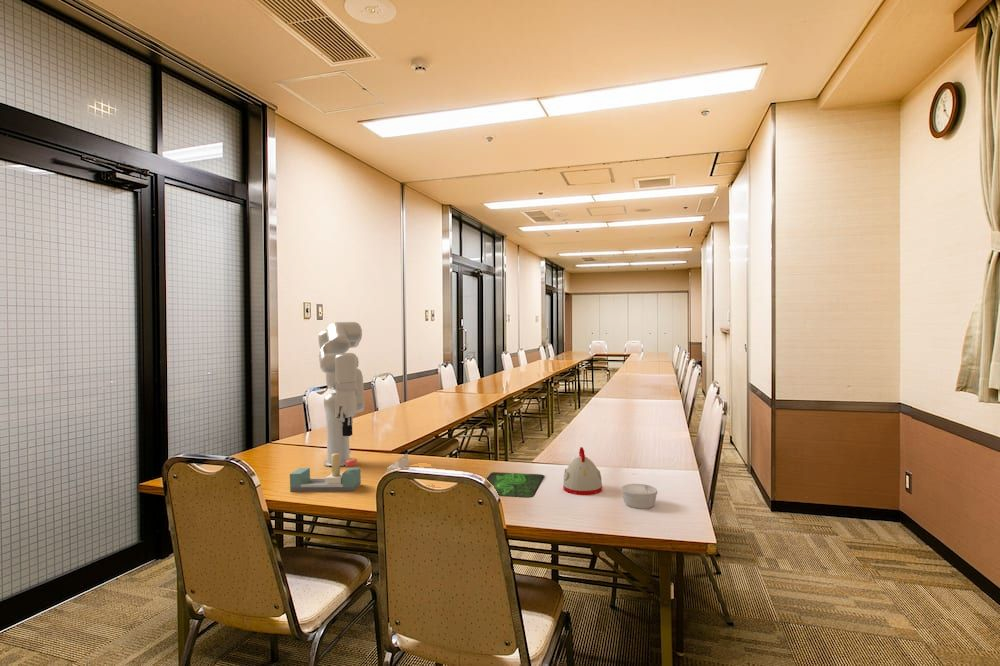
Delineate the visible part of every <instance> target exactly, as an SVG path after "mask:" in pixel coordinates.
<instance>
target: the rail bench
mask: <svg viewBox="0 0 1000 666" xmlns="http://www.w3.org/2000/svg"><path fill="white" fill-rule="evenodd" d="M341 473H342V482H343V484H325V477H322V478H321V477H317V478H316V477H314V478H313V477H311V468H310V467H298V468H297V469H296V470H294V471H292V472H290V473H289V488H290V489H289V490H290V492H354V491H355V490H357V488H358V486H359V485H360V484H361V483H362V482H361V481H362V480H361V479H362V478H361V477H362V475H361V467H348V469H346V470H345V471H344V472H341ZM361 485H362V484H361ZM361 485H360V486H361ZM360 486H359V487H360Z"/></svg>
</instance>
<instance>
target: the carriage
mask: <svg viewBox="0 0 1000 666" xmlns="http://www.w3.org/2000/svg"><path fill="white" fill-rule="evenodd" d="M331 462H332V467H331V473H330V474H329V475H327V476H326V477H324V478H325V484H343V482H342V473H343V472H341V466H340V454H339V453H334V454H331Z"/></svg>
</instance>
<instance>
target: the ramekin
mask: <svg viewBox="0 0 1000 666" xmlns="http://www.w3.org/2000/svg"><path fill="white" fill-rule="evenodd" d="M621 492H622V496H623V502H624V504H625V505H626V506H627V507H629V508H632V509H635V510H649V509H652V508H653V507H654V506H655V504H656V498H657V495H658V489H657V488H656V487H655V486H652V485H649V484H644V483H629V484H624V485H623V486H622V487H621Z"/></svg>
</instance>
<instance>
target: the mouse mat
mask: <svg viewBox="0 0 1000 666" xmlns="http://www.w3.org/2000/svg"><path fill="white" fill-rule="evenodd" d="M544 477H545V475H544V474H538V473H520V472H519V473H517V472H500V471H499V472H495V471H494V472H491V473H489V475H488V476H487V477H486V478H485V480H486V479H487V480H488V481H489V482H490V483H491V484H492V485H493V486H494V488H495V489H496V491H497V493H498V495H499V496H498V497H507V498H520V499H521V498H524V499H530V498H533V497H534V496H535V495H536V493H537V491H538V489H539V487H540V485H541V484H542V481H543V479H544Z"/></svg>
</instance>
